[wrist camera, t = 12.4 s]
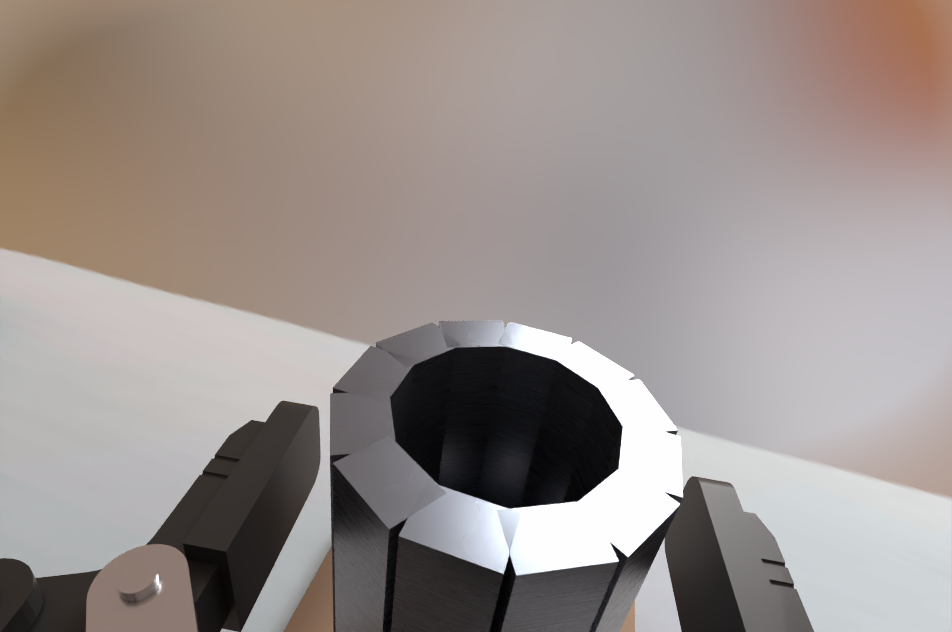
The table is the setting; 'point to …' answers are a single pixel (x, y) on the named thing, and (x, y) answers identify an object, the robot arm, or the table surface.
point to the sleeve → (494, 484)
